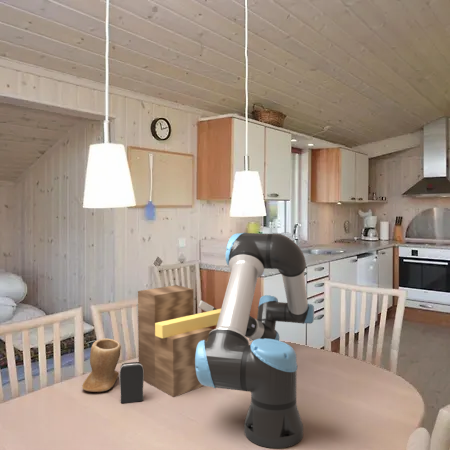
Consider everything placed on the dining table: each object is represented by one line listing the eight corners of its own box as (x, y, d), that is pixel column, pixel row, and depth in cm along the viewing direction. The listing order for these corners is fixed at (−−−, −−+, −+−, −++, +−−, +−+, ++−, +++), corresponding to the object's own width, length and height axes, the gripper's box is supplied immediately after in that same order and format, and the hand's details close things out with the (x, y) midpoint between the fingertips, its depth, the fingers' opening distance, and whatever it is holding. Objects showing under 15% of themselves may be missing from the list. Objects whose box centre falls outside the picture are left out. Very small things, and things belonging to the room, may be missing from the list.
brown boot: (116, 395, 136) (115, 347, 135) (77, 394, 136) (77, 347, 135) (127, 375, 151) (126, 333, 150) (93, 375, 151) (92, 333, 150)
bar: (221, 319, 156) (221, 308, 156) (228, 321, 153) (228, 310, 153) (155, 335, 137) (155, 323, 137) (162, 338, 134) (162, 325, 134)
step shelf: (176, 366, 160) (176, 285, 158) (212, 382, 145) (212, 293, 143) (138, 378, 149) (137, 291, 147) (173, 397, 134) (172, 300, 133)
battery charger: (143, 396, 135) (142, 359, 134) (143, 401, 131) (143, 364, 130) (120, 398, 133) (119, 361, 133) (120, 404, 129) (119, 366, 129)
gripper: (271, 344, 153) (233, 324, 140) (223, 329, 171) (186, 310, 159) (278, 324, 155) (241, 303, 142) (230, 311, 174) (194, 291, 161)
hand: (212, 307), depth 150 cm, fingers open, 13 cm apart
